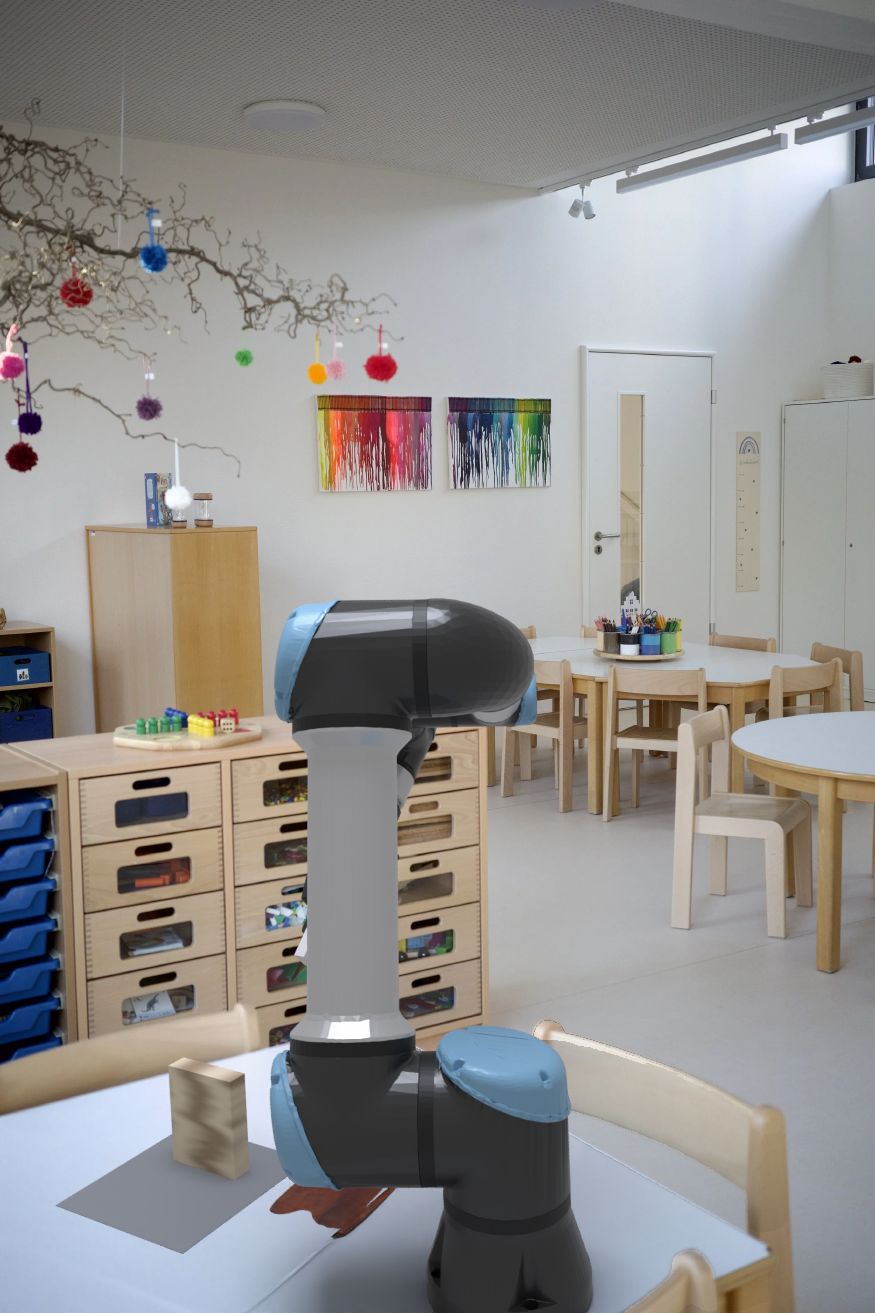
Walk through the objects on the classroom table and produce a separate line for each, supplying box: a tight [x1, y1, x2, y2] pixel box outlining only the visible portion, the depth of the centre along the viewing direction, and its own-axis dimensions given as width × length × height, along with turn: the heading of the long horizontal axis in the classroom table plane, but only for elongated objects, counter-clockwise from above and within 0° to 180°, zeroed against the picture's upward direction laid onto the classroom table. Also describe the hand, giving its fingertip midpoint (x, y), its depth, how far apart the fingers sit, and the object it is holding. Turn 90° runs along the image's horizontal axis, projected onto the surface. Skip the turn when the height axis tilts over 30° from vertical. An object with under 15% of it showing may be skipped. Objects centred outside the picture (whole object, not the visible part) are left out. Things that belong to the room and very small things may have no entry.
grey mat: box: [55, 1133, 288, 1255], centre depth 129 cm, size 18×20×1 cm
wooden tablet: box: [269, 1183, 396, 1238], centre depth 132 cm, size 27×10×2 cm, turn 153°
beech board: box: [167, 1056, 250, 1180], centre depth 132 cm, size 9×2×11 cm, turn 59°
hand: (304, 961), depth 146 cm, fingers closed
